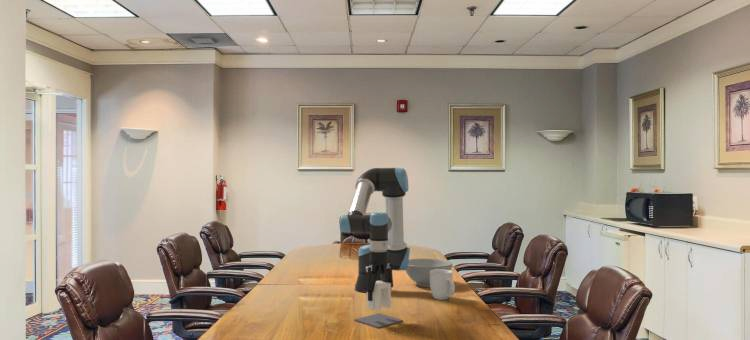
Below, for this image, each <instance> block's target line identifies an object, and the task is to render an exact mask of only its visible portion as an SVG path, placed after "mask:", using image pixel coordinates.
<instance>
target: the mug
mask: <svg viewBox="0 0 750 340" xmlns="http://www.w3.org/2000/svg"><path fill="white" fill-rule="evenodd" d="M453 279H454V278H453V271H452V270H451V271H450V270H443V269H435V270H430V287H429V288H430V293H431V295H432V297H433V298H434V299H435V300H439V301H440V300H441V301H444V300H448V299H449V297H452V296H454V295H455V291H456V286H455V282H454V280H453Z"/></svg>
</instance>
